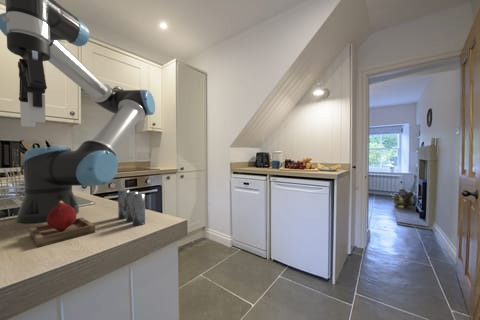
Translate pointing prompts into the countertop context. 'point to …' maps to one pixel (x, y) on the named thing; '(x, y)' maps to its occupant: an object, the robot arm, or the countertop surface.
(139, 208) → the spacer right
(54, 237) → the tray
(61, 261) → the countertop surface
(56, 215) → the onion
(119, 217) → the spacer left
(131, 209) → the spacer mid
